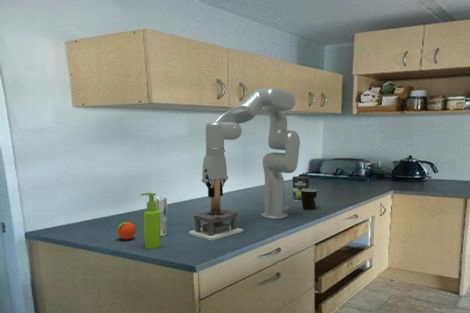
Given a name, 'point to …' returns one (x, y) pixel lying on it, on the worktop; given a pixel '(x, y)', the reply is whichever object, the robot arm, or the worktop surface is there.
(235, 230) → the collar stand
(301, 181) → the coffee can
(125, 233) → the clementine
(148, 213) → the soap dispenser
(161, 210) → the beer glass
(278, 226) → the worktop surface
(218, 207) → the thermos bottle
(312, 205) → the coffee mug
